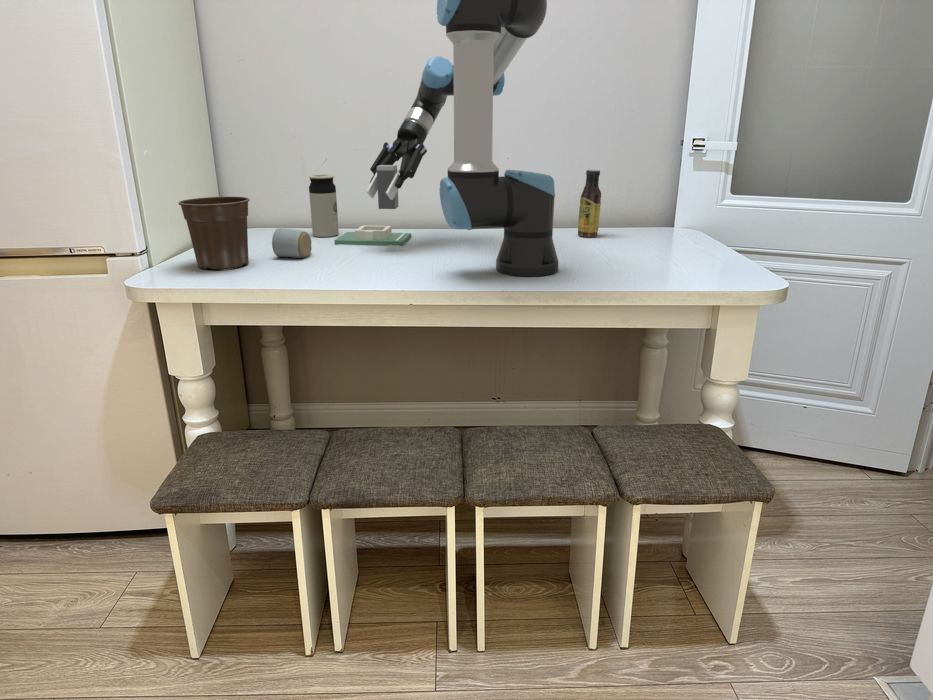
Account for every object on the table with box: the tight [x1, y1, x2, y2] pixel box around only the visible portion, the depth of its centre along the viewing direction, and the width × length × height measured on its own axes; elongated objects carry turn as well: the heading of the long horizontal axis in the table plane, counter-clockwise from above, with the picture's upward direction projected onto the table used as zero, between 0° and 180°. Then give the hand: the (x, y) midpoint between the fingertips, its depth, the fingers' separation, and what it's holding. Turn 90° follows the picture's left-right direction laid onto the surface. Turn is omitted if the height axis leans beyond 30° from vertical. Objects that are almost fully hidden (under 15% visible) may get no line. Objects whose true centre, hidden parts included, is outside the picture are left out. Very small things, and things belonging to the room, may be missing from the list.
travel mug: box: [308, 174, 340, 238], centre depth 198 cm, size 8×8×18 cm
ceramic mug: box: [271, 227, 313, 259], centre depth 171 cm, size 11×8×8 cm
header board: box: [333, 224, 412, 247], centre depth 192 cm, size 14×20×4 cm
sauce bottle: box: [577, 168, 602, 238], centre depth 196 cm, size 6×6×20 cm
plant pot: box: [178, 196, 250, 270], centre depth 159 cm, size 16×16×16 cm
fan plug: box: [377, 164, 399, 210], centre depth 173 cm, size 4×4×11 cm
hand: (379, 195), depth 171 cm, fingers closed on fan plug, 6 cm apart
